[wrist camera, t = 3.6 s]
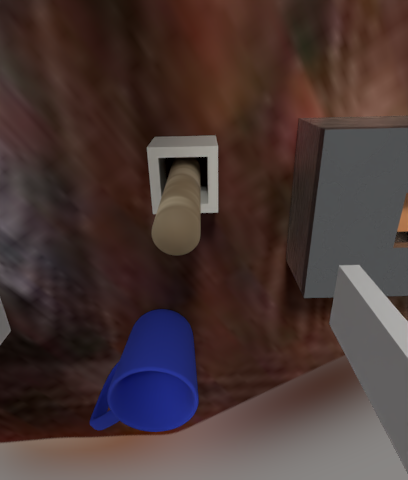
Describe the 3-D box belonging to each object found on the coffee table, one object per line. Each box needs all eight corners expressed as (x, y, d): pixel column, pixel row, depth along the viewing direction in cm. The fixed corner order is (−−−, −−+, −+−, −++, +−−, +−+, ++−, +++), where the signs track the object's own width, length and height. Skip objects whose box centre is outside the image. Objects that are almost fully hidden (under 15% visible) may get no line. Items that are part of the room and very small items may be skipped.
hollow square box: (159, 195, 33) (152, 213, 28) (154, 136, 31) (146, 147, 26) (215, 193, 33) (218, 212, 28) (215, 135, 31) (217, 145, 26)
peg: (173, 180, 32) (153, 256, 19) (171, 152, 31) (149, 211, 18) (200, 179, 32) (201, 254, 19) (200, 151, 31) (199, 210, 18)
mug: (89, 339, 41) (57, 415, 32) (168, 286, 38) (157, 353, 28) (136, 379, 43) (119, 459, 34) (213, 333, 40) (216, 408, 31)
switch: (375, 221, 32) (388, 231, 29) (383, 182, 30) (397, 191, 28) (414, 220, 32) (430, 230, 29) (425, 181, 30) (442, 190, 28)
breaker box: (285, 259, 36) (303, 298, 30) (298, 118, 30) (325, 129, 24) (457, 255, 36) (512, 293, 30) (505, 113, 30) (586, 123, 24)
